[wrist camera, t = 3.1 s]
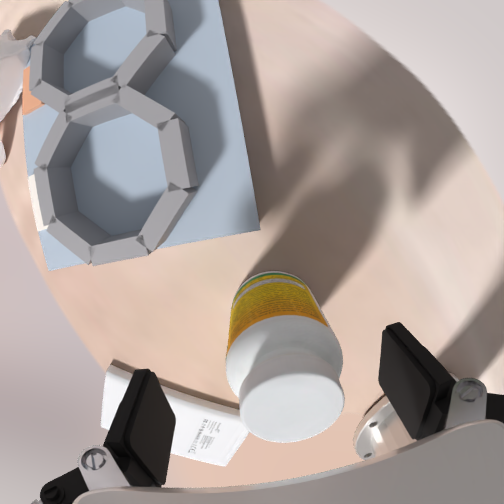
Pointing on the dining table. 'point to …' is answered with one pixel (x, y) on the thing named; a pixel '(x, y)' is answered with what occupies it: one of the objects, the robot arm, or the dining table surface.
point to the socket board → (133, 131)
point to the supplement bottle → (283, 359)
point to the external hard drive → (185, 421)
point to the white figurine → (11, 73)
